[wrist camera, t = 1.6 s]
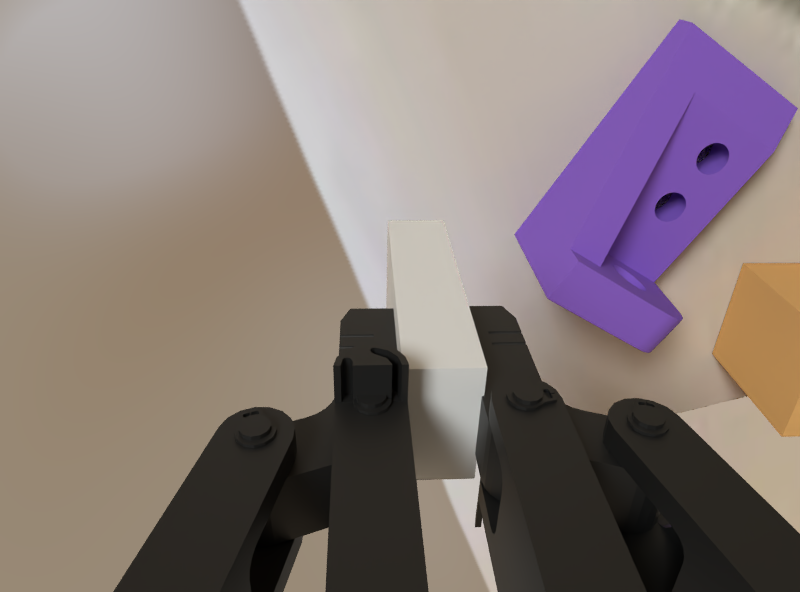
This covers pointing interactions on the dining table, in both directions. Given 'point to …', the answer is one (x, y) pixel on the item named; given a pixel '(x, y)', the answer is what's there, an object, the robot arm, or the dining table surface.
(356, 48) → the dining table surface
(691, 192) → the bracket
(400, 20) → the dining table surface
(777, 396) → the sleeve
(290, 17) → the dining table surface
